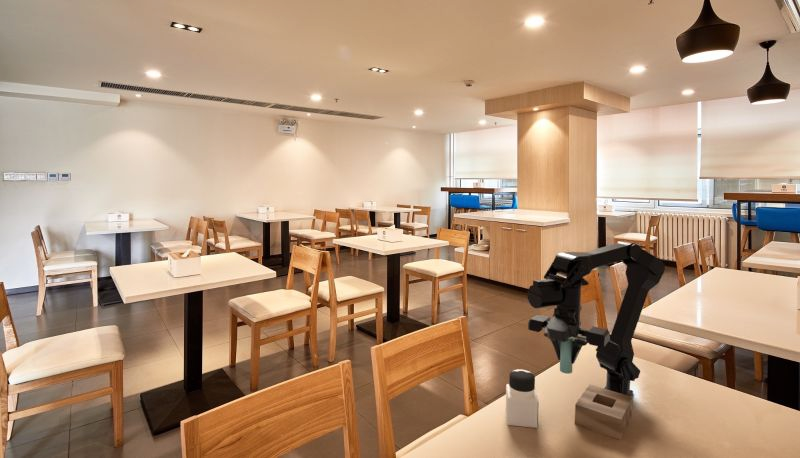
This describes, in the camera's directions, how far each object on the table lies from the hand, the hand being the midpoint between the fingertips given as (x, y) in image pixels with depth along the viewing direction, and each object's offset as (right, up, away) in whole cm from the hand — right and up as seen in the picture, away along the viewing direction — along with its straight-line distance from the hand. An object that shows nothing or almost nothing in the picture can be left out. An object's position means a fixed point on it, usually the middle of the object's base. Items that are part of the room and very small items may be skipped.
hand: (566, 361), depth 104 cm
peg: (0, -3, 0) cm, 2 cm away
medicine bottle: (-13, -13, -3) cm, 19 cm away
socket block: (+7, -13, -4) cm, 16 cm away
